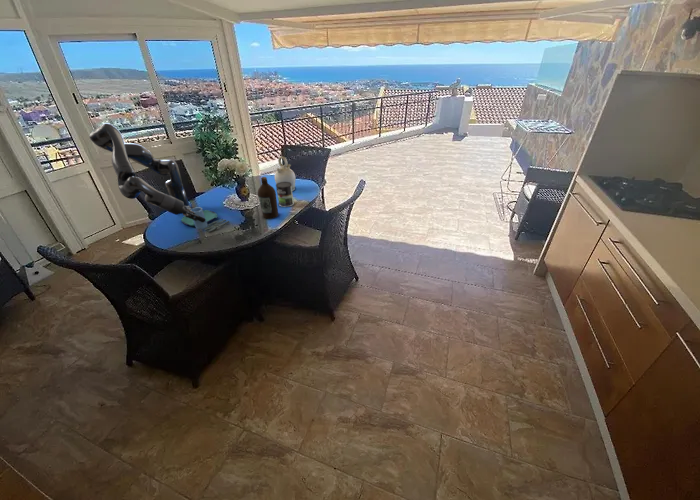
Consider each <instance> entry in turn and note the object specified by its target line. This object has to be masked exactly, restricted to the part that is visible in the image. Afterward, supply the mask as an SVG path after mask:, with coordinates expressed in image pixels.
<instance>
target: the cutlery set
mask: <svg viewBox="0 0 700 500" xmlns="http://www.w3.org/2000/svg"><path fill="white" fill-rule="evenodd" d="M203 213H204V216H205V219H206V222H207V225H208V226H207V227H206V228H203V230H204V231H206V232H207V233H210V232H212V231H215V230H217V229H218V228H220V227H222V226H225V225H227V224H230V221H229V220H227V219H224V218H222V219H219V220H216V221H213V220H214V219H217V218H218V214H217V213H216V212H215V211H213V210H209V209H205V210H203ZM180 221H181V223H183V225H186V226H190V227H195V224H194V221H193V219H190V218H188V217H186V216H185V215H183V216H182V218H181V219H180ZM212 221H213V222H212ZM210 222H211V223H210ZM221 223H222V224H221Z"/></svg>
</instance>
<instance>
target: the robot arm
mask: <svg viewBox="0 0 700 500" xmlns="http://www.w3.org/2000/svg"><path fill="white" fill-rule="evenodd" d="M88 137H89V139H90V142H92V143H93V144H94V145H95V146H97V147H99V148H100V149H103V150H105V151H107V152H110V153H111V165H112V168H113V170H114V172H115V175H116V177H117V185H118V189H119V192H120V194H121V195H122V196H123V197H125V198H127V199H129V200H134V199H136V198H138V197H139V196H140V194H142V192H143V193H144V194H145V196H144V200H145V202H147V203H148V204H151V205H152V206H155V207H158V208H159V209H161V210H164V211H166V212H168V213H170V214H173V215H174V216H175V215H176V216H178V215H180V214H182V216H186V217H188V218H190V219H193V220H195V221H197V220H199V221H201V222H204V221H205V218H203V217H200V216H199V215H197V214H195V212H193V211H191V209H192V208H191V207H192V206H191V205H190V202H189V199H188V196H187V193H186V191H185V188H184V184H183V182H182V176H181V172H180V169H179V165H178V163H177V161H176V160H173V159H158V158H156V157H154V156H153V153H152V152H151V150H149V149H148V148H146V147H144V146H142V145H140V144H138V143H132V142H131V143H129V142H125V140H124V137H123V134H122V133H121V132H120V130H119V129H118V128H117V127H116V126H115V125H113V124H112V123H109V122H104V123H101V125H99V126H97V127H96V128H95V129H93V130H92V131H90V133H89V134H88ZM130 160H131V161H132V162H135V163H137V164H138V165H141V166H143V167H146V168H148V169H150V170H151V171H154V172H155V173H157V174H158V175H160V176H164V177H165V176H167V177H170V179H168V180H167V181H165V182H164V185H165V187H166V190H167V192H168V194H167V193H164V192H162V191H160V190H157V189H156V188H154V187H153V186H152V185H151V184H149V183H148V182H147V181H145V179H142V178H141V177H139V176H136V171H135V169H134V167H133V165H132V162H131V161H130ZM192 213H193V214H192ZM194 216H195V218H194Z"/></svg>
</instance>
